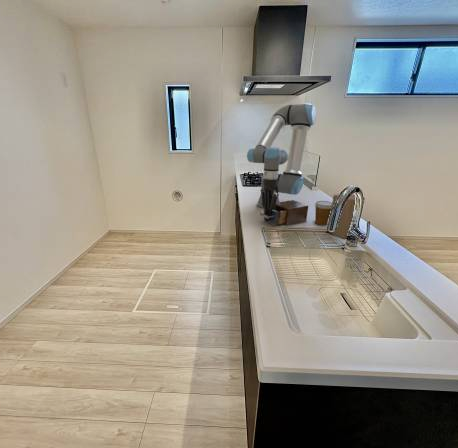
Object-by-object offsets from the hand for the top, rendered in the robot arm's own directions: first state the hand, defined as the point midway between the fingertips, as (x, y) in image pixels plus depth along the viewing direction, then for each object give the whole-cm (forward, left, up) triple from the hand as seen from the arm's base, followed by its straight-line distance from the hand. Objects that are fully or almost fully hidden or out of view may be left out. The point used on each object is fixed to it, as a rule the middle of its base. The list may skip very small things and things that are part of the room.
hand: (267, 220), depth 133 cm
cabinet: (0, +16, -3) cm, 16 cm away
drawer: (0, +6, -2) cm, 6 cm away
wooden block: (+27, +27, -3) cm, 38 cm away
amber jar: (+12, +29, -3) cm, 32 cm away
